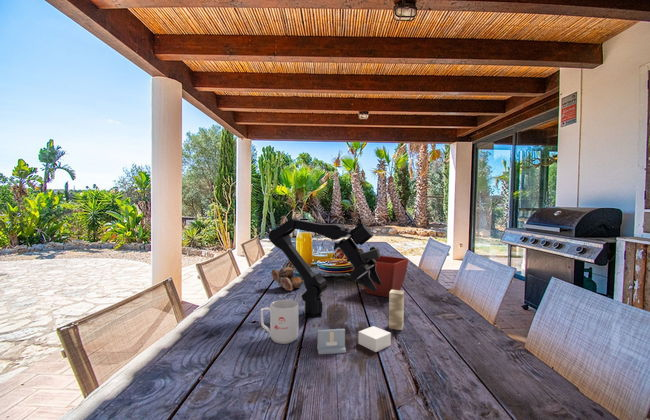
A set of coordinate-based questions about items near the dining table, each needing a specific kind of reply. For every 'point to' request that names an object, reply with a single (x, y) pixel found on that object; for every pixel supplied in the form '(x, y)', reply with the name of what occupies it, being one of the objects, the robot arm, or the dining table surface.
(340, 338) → the plaque
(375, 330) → the white slab
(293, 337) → the mug
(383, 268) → the plant pot
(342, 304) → the dining table surface
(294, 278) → the brown lumpy cluster
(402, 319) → the maple pillar
